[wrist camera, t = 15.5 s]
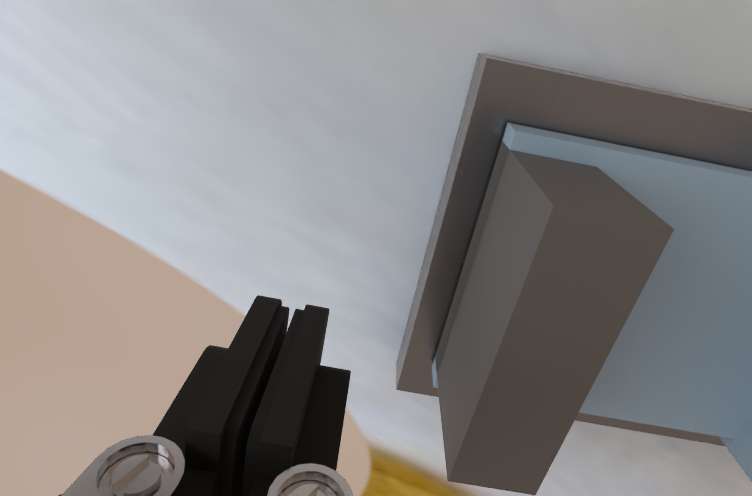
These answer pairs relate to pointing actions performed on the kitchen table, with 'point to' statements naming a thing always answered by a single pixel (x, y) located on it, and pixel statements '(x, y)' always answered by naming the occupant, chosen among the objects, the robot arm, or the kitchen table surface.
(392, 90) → the kitchen table surface
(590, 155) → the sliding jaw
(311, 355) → the robot arm
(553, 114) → the clamp base
